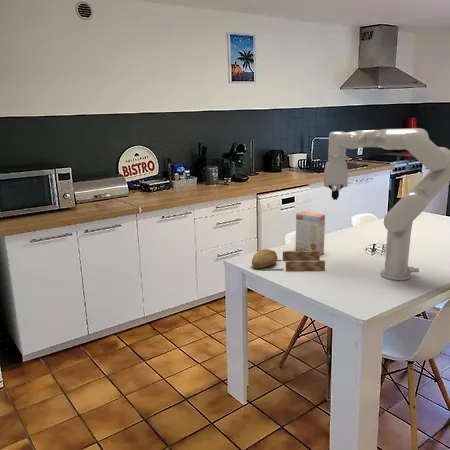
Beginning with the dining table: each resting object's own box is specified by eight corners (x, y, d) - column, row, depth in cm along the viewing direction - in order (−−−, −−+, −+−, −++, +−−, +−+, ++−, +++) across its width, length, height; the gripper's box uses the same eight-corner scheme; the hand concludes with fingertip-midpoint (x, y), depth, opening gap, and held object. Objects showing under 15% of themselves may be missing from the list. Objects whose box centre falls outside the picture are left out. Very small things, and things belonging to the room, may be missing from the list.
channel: (318, 259, 224) (319, 250, 222) (324, 270, 208) (325, 261, 207) (282, 259, 224) (282, 251, 223) (285, 271, 209) (286, 261, 208)
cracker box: (324, 253, 232) (325, 214, 227) (318, 256, 228) (319, 216, 222) (301, 248, 241) (302, 210, 236) (295, 251, 237) (295, 212, 232)
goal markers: (280, 260, 223) (280, 259, 223) (283, 270, 210) (283, 269, 210) (260, 260, 224) (260, 259, 224) (262, 270, 210) (262, 269, 210)
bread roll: (283, 264, 218) (283, 248, 216) (262, 272, 208) (262, 255, 206) (268, 259, 225) (268, 244, 223) (247, 267, 215) (247, 251, 213)
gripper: (351, 158, 206) (349, 197, 211) (318, 158, 207) (317, 197, 211) (355, 160, 199) (353, 200, 204) (321, 160, 200) (320, 201, 204)
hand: (335, 199), depth 208 cm, fingers closed
